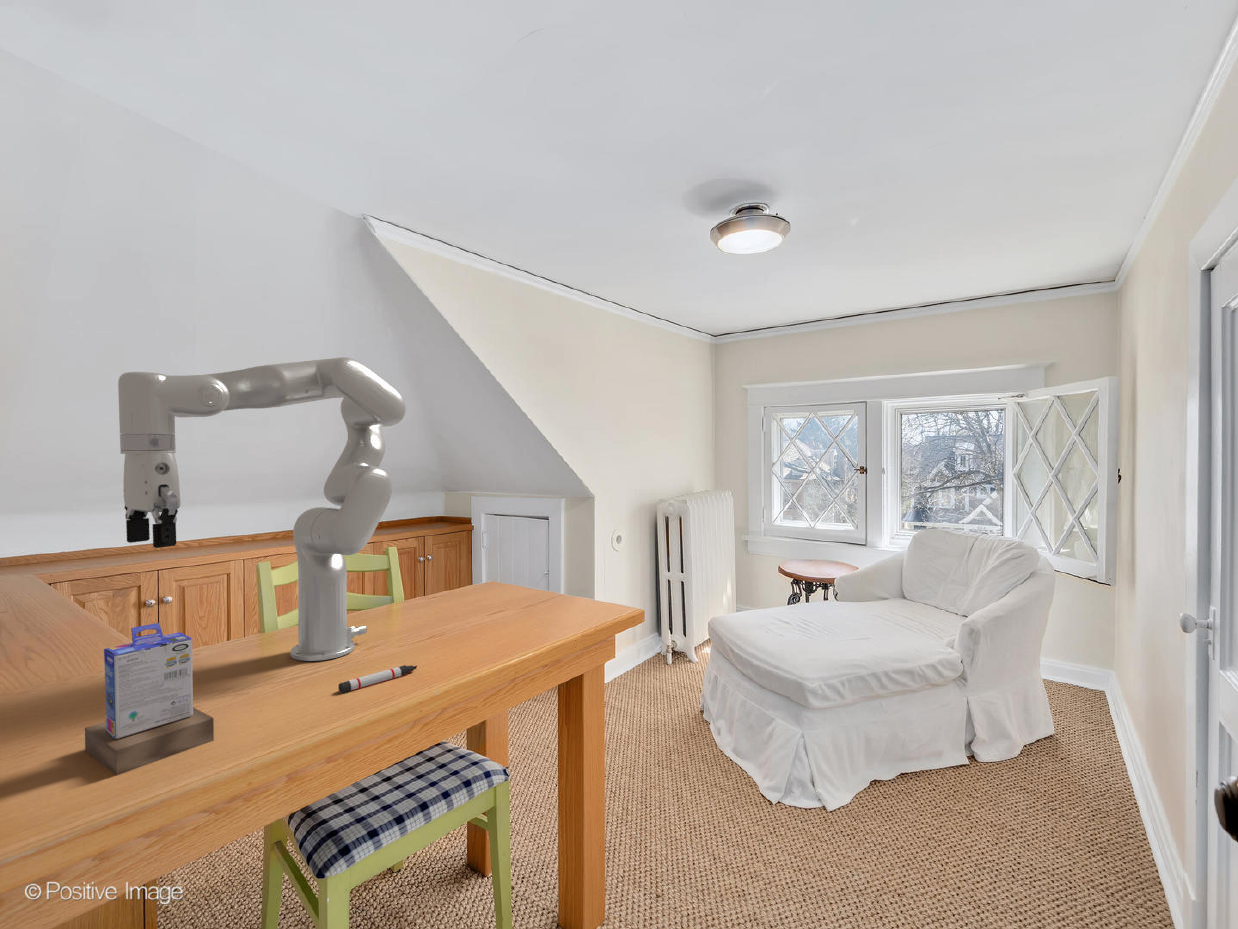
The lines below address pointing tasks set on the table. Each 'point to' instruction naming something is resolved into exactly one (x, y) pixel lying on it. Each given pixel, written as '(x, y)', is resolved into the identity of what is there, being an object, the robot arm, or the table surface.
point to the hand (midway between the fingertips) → (151, 544)
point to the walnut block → (148, 742)
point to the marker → (375, 678)
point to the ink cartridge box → (148, 681)
